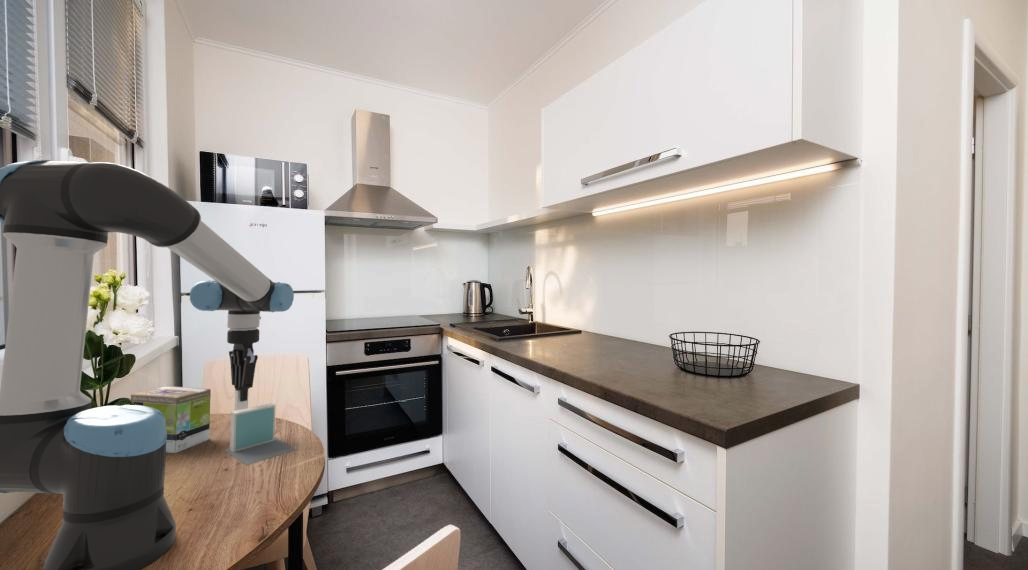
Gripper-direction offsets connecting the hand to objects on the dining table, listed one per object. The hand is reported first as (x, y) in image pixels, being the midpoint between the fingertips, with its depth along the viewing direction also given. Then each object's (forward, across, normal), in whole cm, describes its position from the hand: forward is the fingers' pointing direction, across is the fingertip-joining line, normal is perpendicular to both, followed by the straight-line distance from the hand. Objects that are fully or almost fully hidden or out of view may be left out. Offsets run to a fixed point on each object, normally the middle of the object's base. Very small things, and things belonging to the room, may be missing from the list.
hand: (241, 411), depth 113 cm
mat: (+8, -13, 0) cm, 15 cm away
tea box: (+8, +10, +13) cm, 18 cm away
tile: (+7, -8, 0) cm, 11 cm away
